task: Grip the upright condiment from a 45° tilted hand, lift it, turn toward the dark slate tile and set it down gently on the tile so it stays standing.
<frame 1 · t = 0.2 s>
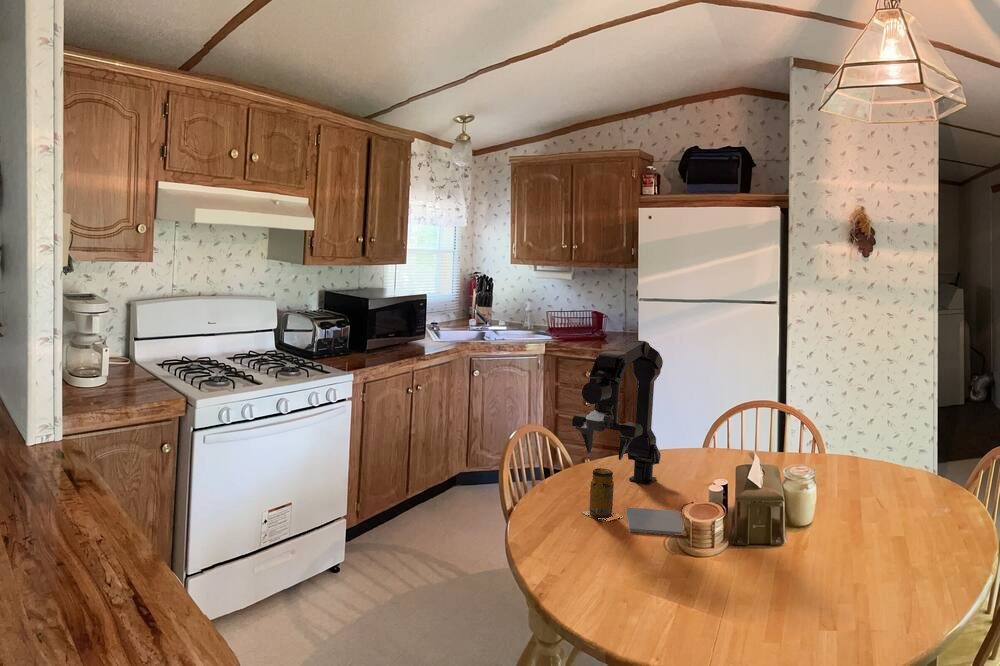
hand: (604, 456, 184), 14 cm above the table, tool pointing down, fingers open, 9 cm apart
condiment: (602, 516, 180), on the table
slate tile: (655, 523, 176), on the table
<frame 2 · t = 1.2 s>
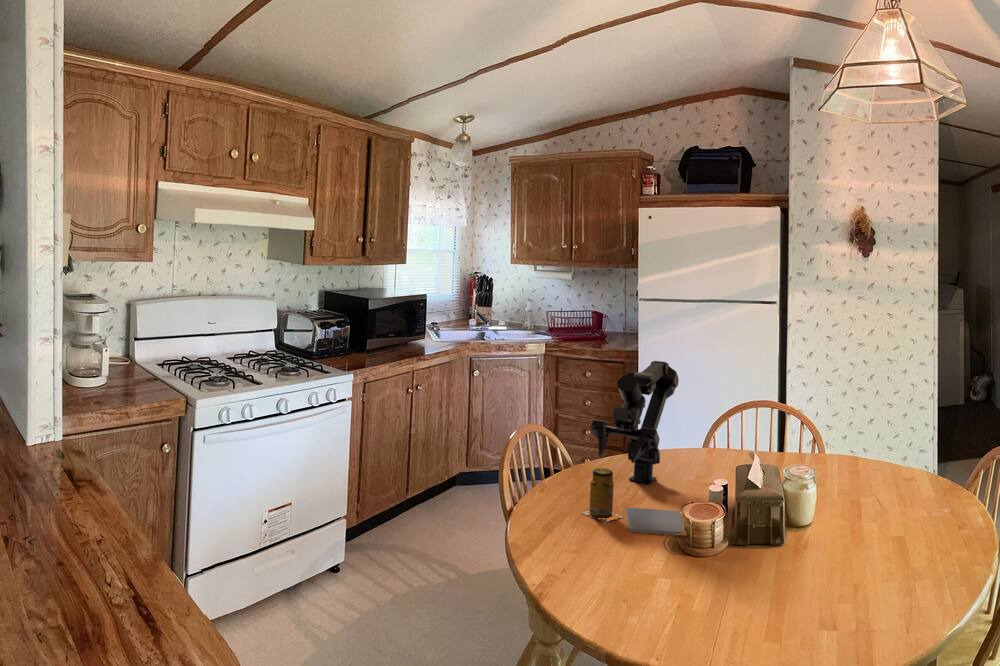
hand: (615, 459, 185), 13 cm above the table, tool tilted 45°, fingers open, 9 cm apart
nothing on the table moved.
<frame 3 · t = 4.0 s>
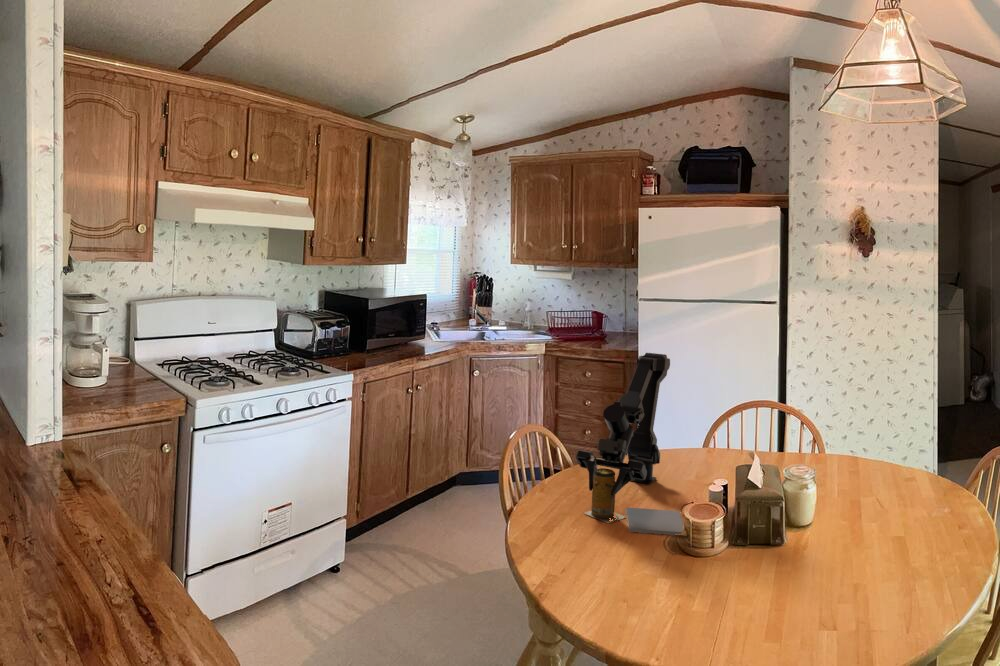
hand: (601, 492, 178), 7 cm above the table, tool tilted 45°, fingers closed on condiment, 6 cm apart
condiment: (604, 516, 180), on the table, touching gripper
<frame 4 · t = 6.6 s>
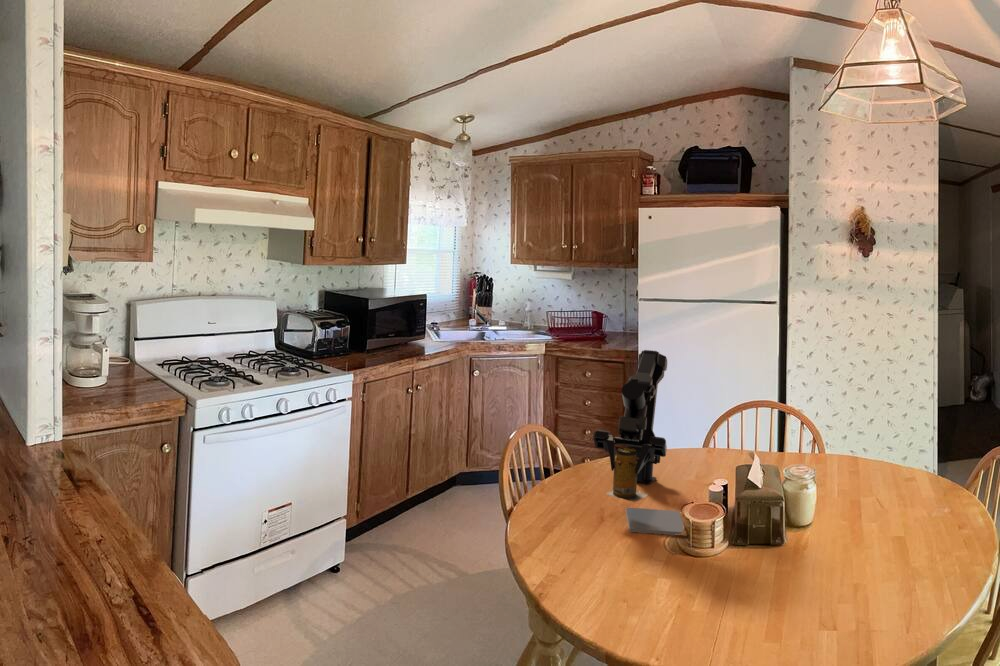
hand: (624, 471, 175), 13 cm above the table, tool tilted 45°, fingers closed on condiment, 6 cm apart
condiment: (626, 495, 177), point 6 cm above the table, touching gripper
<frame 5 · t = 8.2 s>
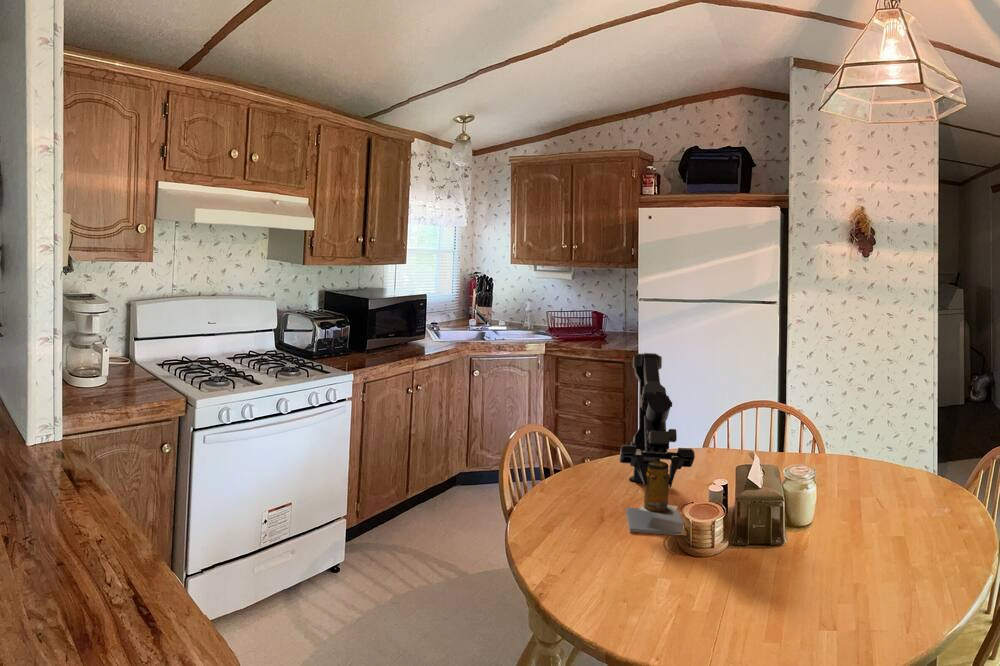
hand: (657, 485, 173), 10 cm above the table, tool tilted 45°, fingers closed on condiment, 6 cm apart
condiment: (658, 509, 176), point 4 cm above the table, touching gripper
when the fingers open (9 cm above the table, at t = 9.4 s): condiment drops 1 cm, resting on slate tile.
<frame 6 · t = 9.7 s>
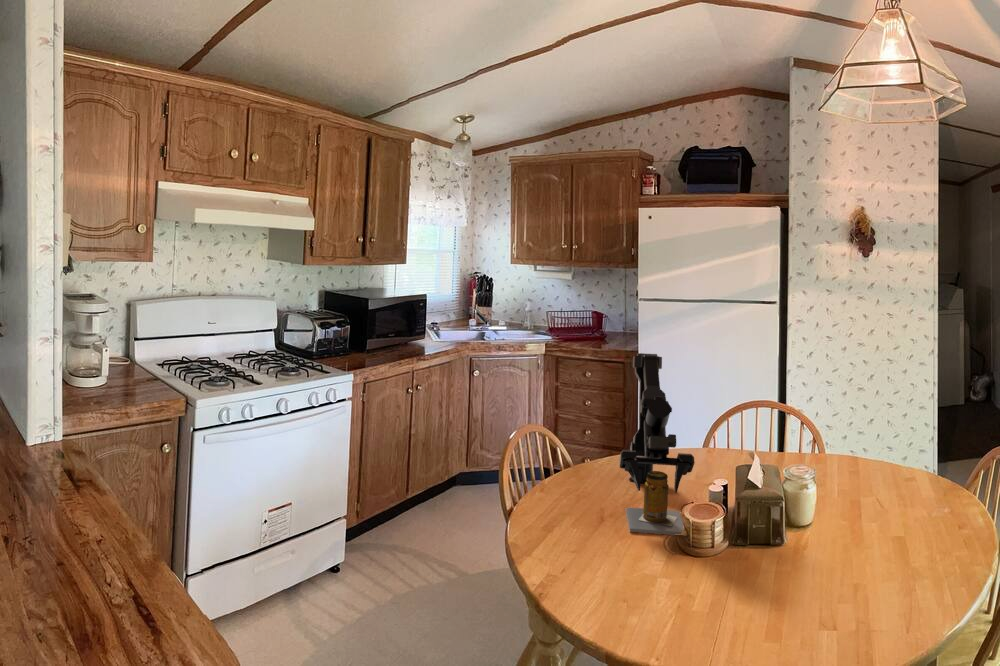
hand: (657, 491, 173), 9 cm above the table, tool tilted 45°, fingers open, 9 cm apart
condiment: (657, 519, 176), point 1 cm above the table, touching slate tile
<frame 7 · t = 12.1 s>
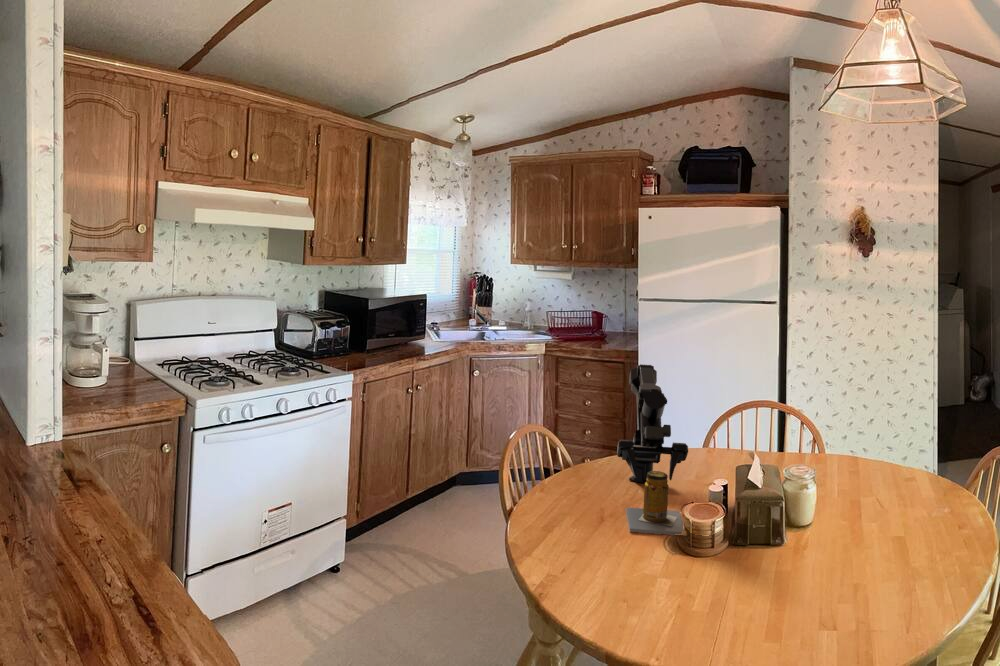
hand: (653, 478, 183), 9 cm above the table, tool tilted 45°, fingers open, 9 cm apart
nothing on the table moved.
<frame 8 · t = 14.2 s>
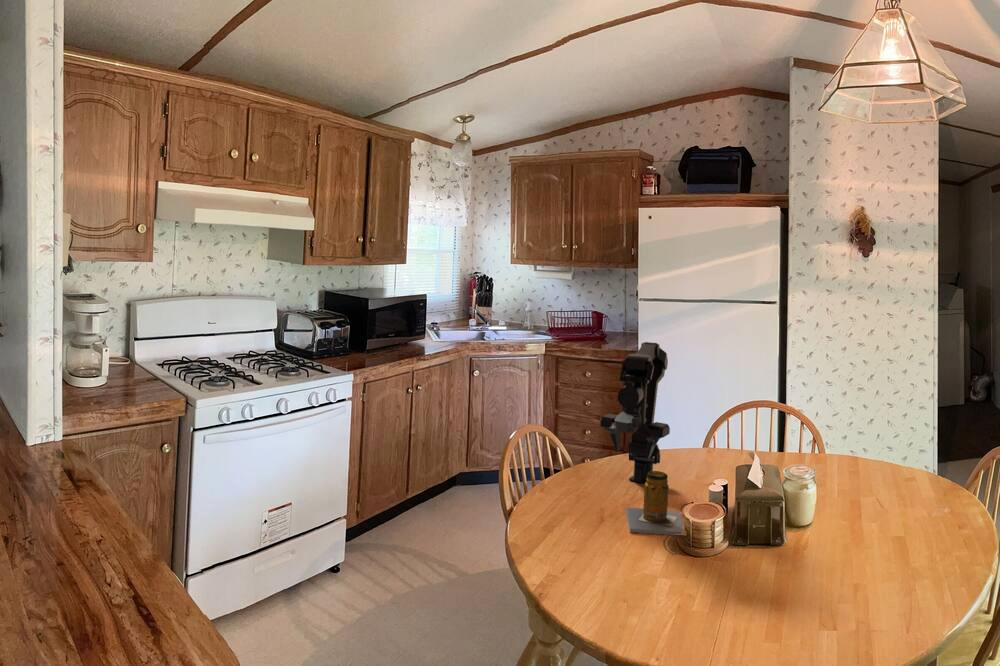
hand: (632, 455, 190), 13 cm above the table, tool pointing down, fingers open, 9 cm apart
nothing on the table moved.
at the end: condiment inside the target area on the slate tile (0.8 cm from its centre), point 0.8 cm above the slate tile's base; condiment tilted 0°; the gripper is holding nothing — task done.
